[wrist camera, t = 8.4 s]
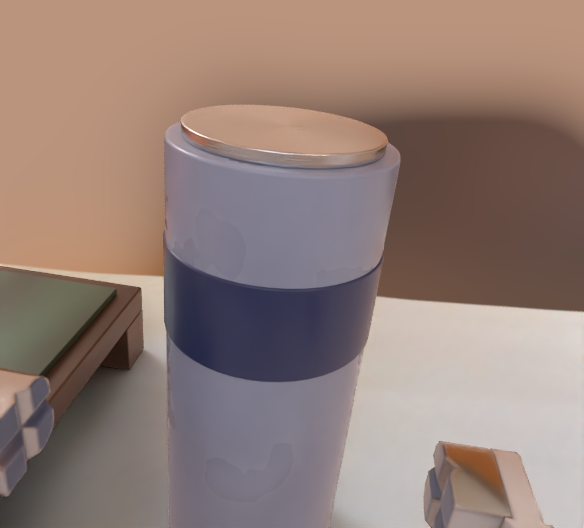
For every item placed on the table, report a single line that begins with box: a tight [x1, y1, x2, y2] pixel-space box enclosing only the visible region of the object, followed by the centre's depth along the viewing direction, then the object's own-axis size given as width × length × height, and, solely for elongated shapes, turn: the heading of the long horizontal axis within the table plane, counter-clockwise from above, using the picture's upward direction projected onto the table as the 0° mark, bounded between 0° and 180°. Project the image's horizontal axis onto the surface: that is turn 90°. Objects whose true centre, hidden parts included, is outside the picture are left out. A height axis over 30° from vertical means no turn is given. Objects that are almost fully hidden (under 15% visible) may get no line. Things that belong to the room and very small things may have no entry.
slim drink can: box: [163, 105, 400, 528], centre depth 15 cm, size 5×5×14 cm
